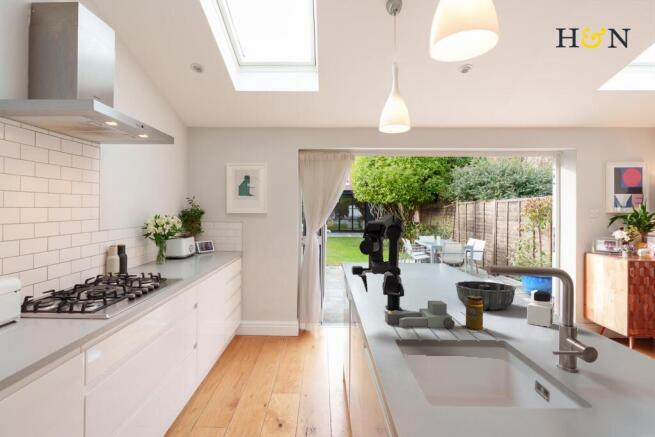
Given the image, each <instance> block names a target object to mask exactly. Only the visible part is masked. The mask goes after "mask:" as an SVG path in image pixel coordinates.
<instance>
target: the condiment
mask: <svg viewBox="0 0 655 437" xmlns="http://www.w3.org/2000/svg"><path fill="white" fill-rule="evenodd" d="M457 328H459V329H462V330H465V331H467V332H471V333H478V332H483V331H485V330H489V329H488V328H487V327H484V309H483V304H482V297H480V296H475V295H470V296H467V303H466V305H465V324H464V325H459V326H458V325H457Z"/></svg>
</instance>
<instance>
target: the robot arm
mask: <svg viewBox="0 0 655 437" xmlns="http://www.w3.org/2000/svg"><path fill="white" fill-rule="evenodd" d="M405 229H406V226H405V224H404V221H403V220H402V219H401V218H399V217H398V215H397V214H394V213H385V214H384V215H383V216H382V217H381V218H379V219H377V220H368V222H367V223H366V225H365V228H364V231H363V234H362V235H363V236H362V238H363V240H362V241H361V242H360V244H359V246H358V247H359V251H360V252H361V254H363V255H365V256H368V267H363V265H352V266H351V274H352V275H353V276H358V277H359V278H361V280H362V283H363V286H364V289H365V292H366V293H368V292H369V291H368V289H369V288H368V278H367V277H368V276H367V275H366V273H372V274H373V275H383V281H382V294H383V295H384V296H386V300H387V301H386V304H385V309H386V311H403V308H402V307H401V298H403V297H405V288H404V286H403V283H402V278H401V268H400V267H399V264H400V263H399V261H400V260H399V259H400V258H399V257H400V241H401V240H402V239H403V237H404V233H405V231H406V230H405ZM385 237H387V240H388V241H389V242H388V260H385V261H384V241H385V239H384V238H385Z"/></svg>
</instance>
